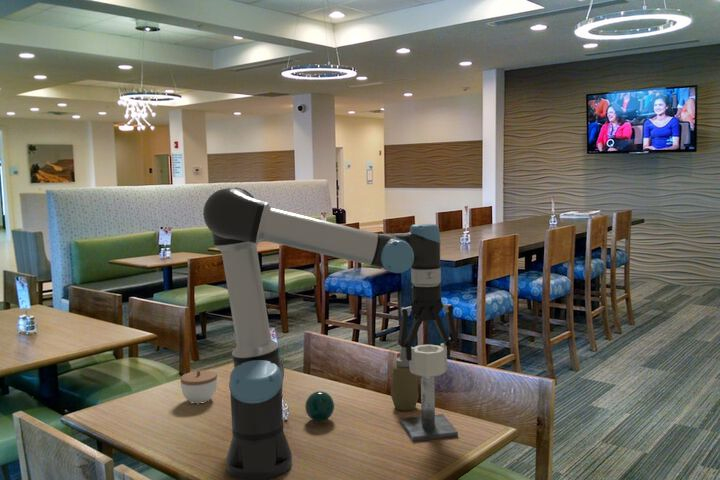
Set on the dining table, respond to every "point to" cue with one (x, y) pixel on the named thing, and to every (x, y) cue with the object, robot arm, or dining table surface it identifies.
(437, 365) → the ring
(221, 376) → the dining table surface
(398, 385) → the squeeze bottle
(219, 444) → the dining table surface
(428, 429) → the post
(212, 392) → the lidded jar
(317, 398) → the sphere
